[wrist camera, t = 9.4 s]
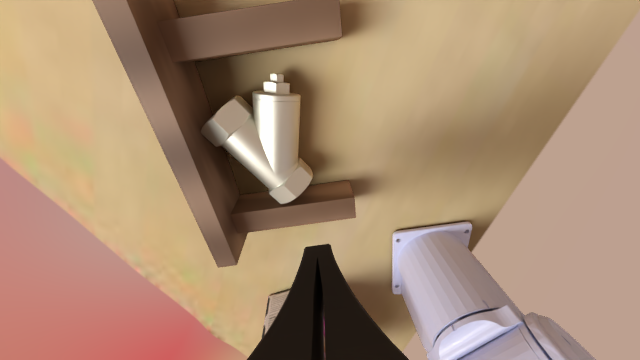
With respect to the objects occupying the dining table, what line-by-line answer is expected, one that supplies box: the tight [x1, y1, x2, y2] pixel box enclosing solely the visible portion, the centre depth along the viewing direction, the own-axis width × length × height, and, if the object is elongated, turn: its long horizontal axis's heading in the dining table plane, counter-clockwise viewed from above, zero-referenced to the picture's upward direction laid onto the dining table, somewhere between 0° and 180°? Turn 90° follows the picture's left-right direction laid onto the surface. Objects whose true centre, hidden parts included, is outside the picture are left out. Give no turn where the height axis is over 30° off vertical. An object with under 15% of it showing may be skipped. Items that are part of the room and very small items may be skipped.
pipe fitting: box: [201, 74, 313, 204], centre depth 18 cm, size 8×4×7 cm
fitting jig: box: [92, 0, 356, 267], centre depth 17 cm, size 18×12×5 cm, turn 8°
